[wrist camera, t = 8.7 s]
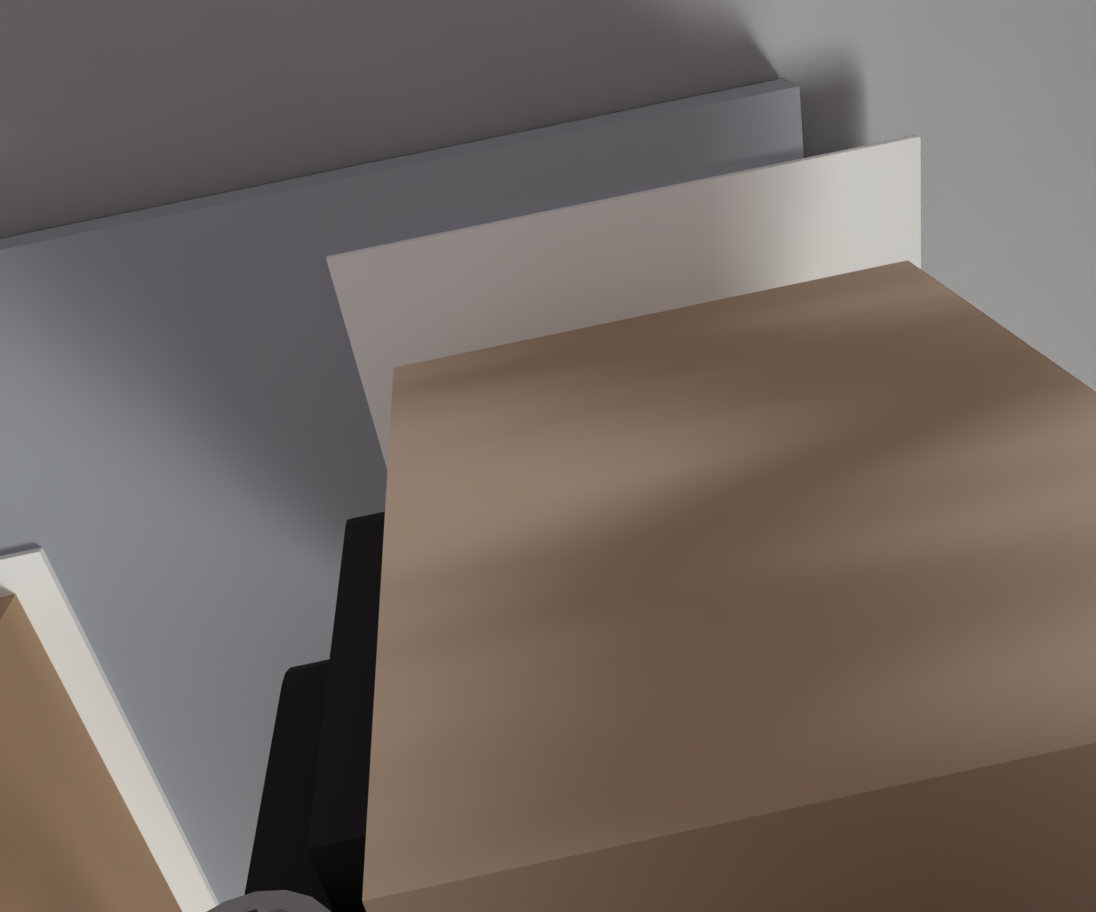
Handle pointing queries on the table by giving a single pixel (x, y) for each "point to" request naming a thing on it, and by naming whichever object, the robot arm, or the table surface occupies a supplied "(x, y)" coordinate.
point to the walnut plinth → (61, 797)
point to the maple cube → (740, 616)
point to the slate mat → (337, 394)
